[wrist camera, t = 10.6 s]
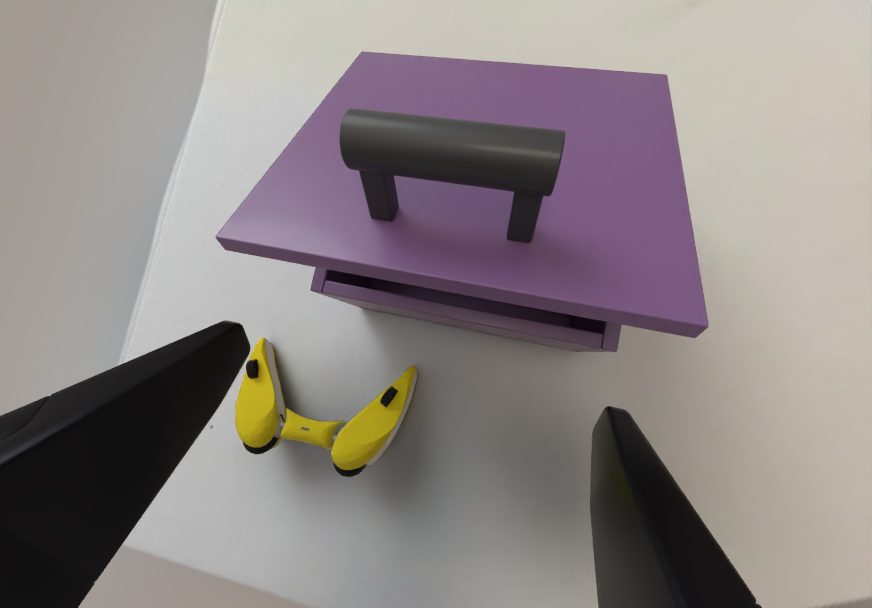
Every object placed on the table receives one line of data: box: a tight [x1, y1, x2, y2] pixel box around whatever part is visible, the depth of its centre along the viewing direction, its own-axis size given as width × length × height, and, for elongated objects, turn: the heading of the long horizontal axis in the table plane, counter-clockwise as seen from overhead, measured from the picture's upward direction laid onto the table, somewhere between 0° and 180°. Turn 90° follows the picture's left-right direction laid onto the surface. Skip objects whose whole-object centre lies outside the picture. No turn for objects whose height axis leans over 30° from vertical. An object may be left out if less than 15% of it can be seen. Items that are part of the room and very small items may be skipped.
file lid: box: [216, 52, 708, 338], centre depth 12 cm, size 12×13×4 cm
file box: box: [310, 267, 621, 352], centre depth 19 cm, size 11×13×7 cm
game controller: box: [235, 337, 418, 477], centre depth 21 cm, size 10×6×4 cm, turn 80°
